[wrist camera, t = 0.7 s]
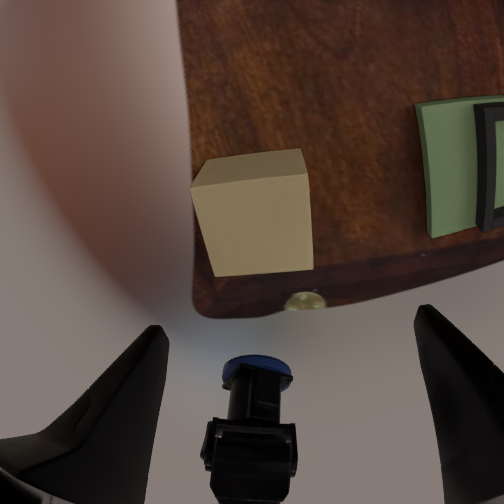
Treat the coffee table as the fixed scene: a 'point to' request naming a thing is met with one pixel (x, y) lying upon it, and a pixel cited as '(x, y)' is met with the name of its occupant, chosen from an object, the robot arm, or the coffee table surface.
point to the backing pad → (463, 163)
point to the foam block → (255, 213)
